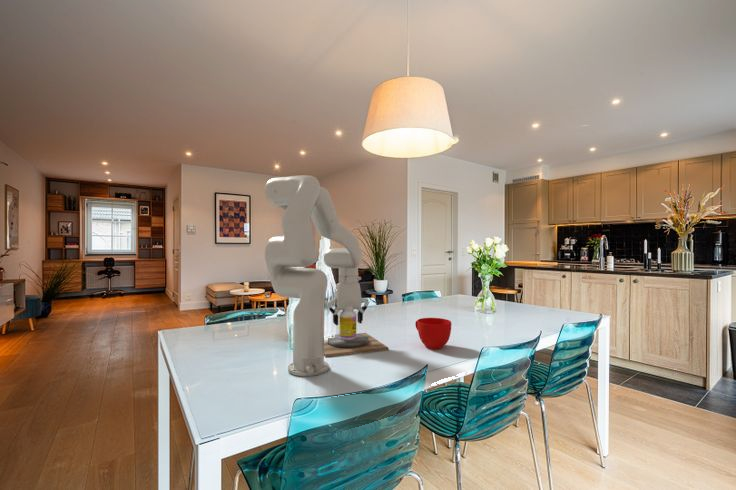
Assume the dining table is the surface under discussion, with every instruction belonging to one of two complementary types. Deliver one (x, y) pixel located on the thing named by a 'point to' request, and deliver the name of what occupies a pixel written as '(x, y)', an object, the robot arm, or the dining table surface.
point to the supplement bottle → (347, 324)
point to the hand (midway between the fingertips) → (348, 323)
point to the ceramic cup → (434, 332)
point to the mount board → (359, 350)
